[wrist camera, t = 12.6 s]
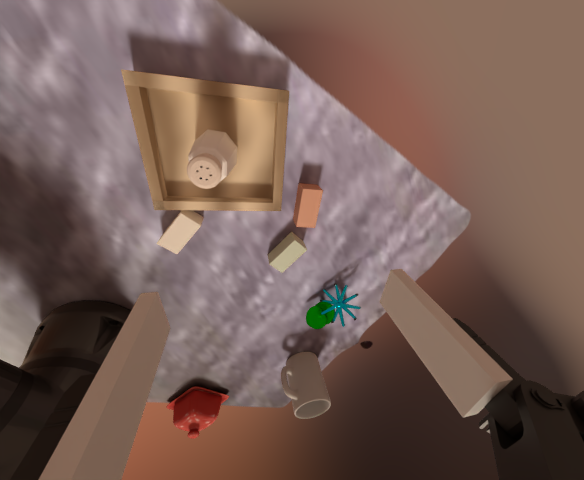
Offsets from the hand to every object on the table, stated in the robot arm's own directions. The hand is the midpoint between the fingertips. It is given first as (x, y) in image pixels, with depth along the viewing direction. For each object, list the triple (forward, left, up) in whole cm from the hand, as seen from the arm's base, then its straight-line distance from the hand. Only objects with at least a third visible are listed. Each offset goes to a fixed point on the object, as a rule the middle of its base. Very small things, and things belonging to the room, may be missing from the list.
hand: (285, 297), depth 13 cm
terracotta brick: (+7, -3, -23) cm, 24 cm away
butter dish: (-15, -56, -23) cm, 63 cm away
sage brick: (+5, -11, -23) cm, 26 cm away
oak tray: (-5, +4, -23) cm, 24 cm away
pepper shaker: (-5, +4, -22) cm, 23 cm away
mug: (+10, -46, -23) cm, 52 cm away
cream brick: (-11, -7, -23) cm, 27 cm away
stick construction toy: (+14, -23, -24) cm, 36 cm away
